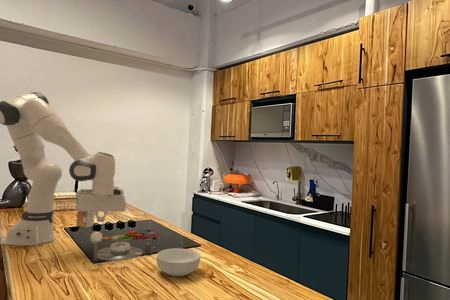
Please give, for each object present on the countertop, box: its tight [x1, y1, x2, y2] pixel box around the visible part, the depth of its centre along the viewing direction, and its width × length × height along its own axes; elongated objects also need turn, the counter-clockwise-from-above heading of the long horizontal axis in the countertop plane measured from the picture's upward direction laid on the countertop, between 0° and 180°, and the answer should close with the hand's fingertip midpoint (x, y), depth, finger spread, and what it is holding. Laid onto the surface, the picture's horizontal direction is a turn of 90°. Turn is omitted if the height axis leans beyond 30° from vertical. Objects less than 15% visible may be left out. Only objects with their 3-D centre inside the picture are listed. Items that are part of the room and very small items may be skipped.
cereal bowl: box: [156, 247, 201, 277], centre depth 123 cm, size 17×17×7 cm
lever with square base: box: [89, 231, 103, 264], centre depth 125 cm, size 4×5×14 cm
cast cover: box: [110, 240, 131, 256], centre depth 138 cm, size 8×8×5 cm
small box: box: [76, 211, 95, 229], centre depth 186 cm, size 8×6×10 cm
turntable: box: [97, 242, 152, 262], centre depth 138 cm, size 23×20×6 cm
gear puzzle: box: [102, 227, 161, 242], centre depth 165 cm, size 31×16×4 cm, turn 130°
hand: (100, 221), depth 137 cm, fingers closed
